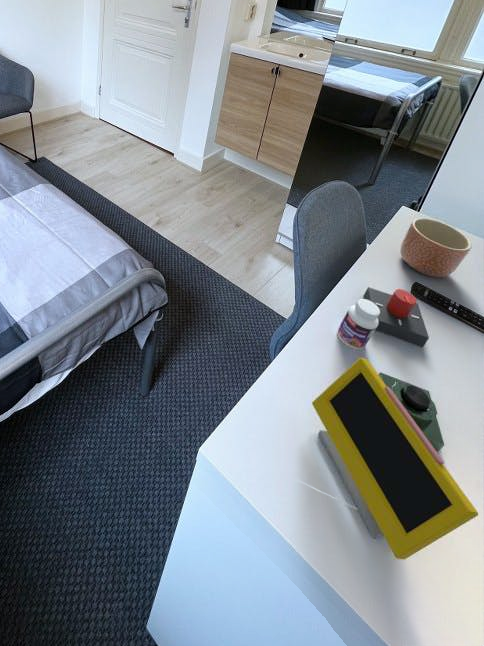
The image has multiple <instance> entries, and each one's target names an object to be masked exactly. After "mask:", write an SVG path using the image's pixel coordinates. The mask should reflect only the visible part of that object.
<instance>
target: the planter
mask: <svg viewBox="0 0 484 646" xmlns="http://www.w3.org/2000/svg"><path fill="white" fill-rule="evenodd" d="M472 246H473V245H472V241H471V240H470V239H469V238H468V236H466V235H465V234H464V233H463V232H462V231H460V230H458V229H457V228H455V227H453V226H451V225H449V224H447V223H445V222H442V221H439V220H435V219H432V218H425V217H421V218H420V217H419V218H416V219H414V220H413V221H412V222H411V224H410V225H409V227H408V229H407V231H406V233H405V235H404V237H403V240H402V242H401V244H400V250H399V251H400V255H401V258H402V259H403V261H404V262H405V263H406V264H407V265H408V266H409V267H410V268H411V269H413V270H414V271H416V272H418V273H420V274H423V275H426V276H429V277H436V278H443V277H448V276H451V274H453V273H454V272H455V271H456V270H457V269H458V267H459V266H460V264H461V263H462V262H463V261H464V259H465V258H466V257H467V256H468V254H469V253H470V251H471V250H472Z"/></svg>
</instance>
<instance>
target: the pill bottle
mask: <svg viewBox="0 0 484 646" xmlns="http://www.w3.org/2000/svg"><path fill="white" fill-rule="evenodd" d="M379 314H380V310H379V308H378V307H377V306H376V305H375V304H374V303H373V302H371V301H369V300H366V299H364V298H360V299H358V300H357V301H356V303H355V304H354V305H351V306H349V308H348V310H347V312H346V313H345V315H344V316H343V319H342V321H341V323H340V324H339V326H338V327H337V331H336V332H337V336H338V338H339V340H340V341H341V342H342V343H343V344H344V345H345V346H347V347H348V348H351V349H354V350H362V349H364V348H365V347H366V346H367V345H368V343H369V341H370V339H371V338H372V336H373V335H374V333H375V331H376V328H377V326H378V323H379V322H378V318H377V317H378V316H379Z"/></svg>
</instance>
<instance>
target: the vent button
mask: <svg viewBox="0 0 484 646" xmlns="http://www.w3.org/2000/svg"><path fill="white" fill-rule="evenodd" d="M413 385H414V384H412V385H409V386H407V387H406V388H405V389H404V391H403V392H402V398H403V400H404V402H405V403H406V404H407V405H408V406H410V407H411V408H412V409H414V410H416V411H420V412H422V411H425V410H426V408H427V407H428V406H429V404H430V399H429V397H428V396H427V394H426V393H425V392H424V391H422V390H421V389H420V388H421V387H420V388H418V387H419V386H417V385H415V386H413ZM416 386H417V387H416Z"/></svg>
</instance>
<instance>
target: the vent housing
mask: <svg viewBox="0 0 484 646" xmlns="http://www.w3.org/2000/svg"><path fill="white" fill-rule="evenodd" d="M377 374H378V375H379V376H380V378H381V379H382V381H383V382H384V383H385V385H386V386H388V387H389V388H390V389H391V390H392V391H393V393H394V394H395V395H396V397H397V398H398V399H399V401H400V402H401V404H402V405H403V406H404V408H405V409H406V410H407V412H408V413H409V415H410V416H411V417H412V419H413V420H414V421H415V423H416V424H417V426H418V427H419V428H420V430H421V431H422V432H423V434H424V435H425V437H426V438H427V439H428V441H429V442H430V443H431V445H432V446H433V448H434V449H435V450H436V452H437V453H438V452H440V451H441V450H442V448H443V447H444V446H445V442H444V439H443V435H442V432H441V428H440V425H439V420H438V417H437V415H438V410H437V406H436V404H435V402H434V401H433V399H432V396H431V393H430V390H427V389H425V388H422V387H420V386H417V385H415V384H412V383H410V382H407V381H404V380H401V379H398V378H396V377H394V376H391V375H389V374H386V373H383V372H381V371H380V372H379V373H377ZM409 385H413V386H416V387H418V388H420V389H421V390H422V391H424V392H425V393H426V394H427V396H428V397H429V399H430V404H429V406H428V407H427V408H426V410H425V411H422V412H420V411H416V410H414V409H412V408H411V407H410V406H408V405H407V404H406V403H405V402H404V400H403V398H402V392H403V391H404V389H405V388H406V387H407V386H409Z"/></svg>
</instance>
